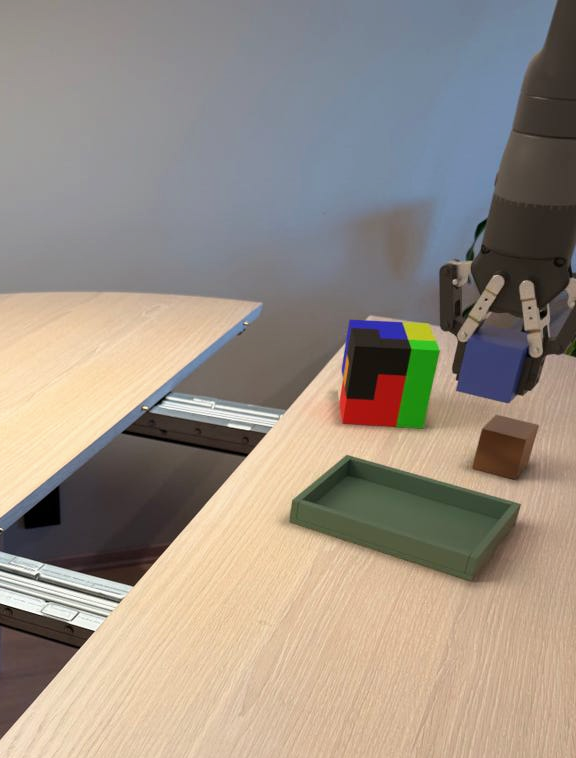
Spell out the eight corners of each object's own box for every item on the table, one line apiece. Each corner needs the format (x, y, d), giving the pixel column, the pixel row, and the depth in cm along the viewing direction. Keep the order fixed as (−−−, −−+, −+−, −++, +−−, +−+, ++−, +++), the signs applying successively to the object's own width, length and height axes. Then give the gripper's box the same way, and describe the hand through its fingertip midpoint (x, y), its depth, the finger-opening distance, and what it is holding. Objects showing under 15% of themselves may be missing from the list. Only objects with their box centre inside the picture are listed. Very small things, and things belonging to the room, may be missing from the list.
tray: (515, 525, 104) (521, 503, 102) (471, 581, 95) (477, 558, 93) (343, 475, 113) (346, 454, 111) (288, 521, 104) (291, 499, 102)
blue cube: (525, 387, 93) (540, 335, 90) (508, 404, 90) (523, 350, 87) (473, 375, 95) (486, 324, 92) (455, 391, 92) (467, 338, 89)
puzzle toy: (337, 393, 133) (349, 319, 127) (413, 397, 132) (428, 323, 126) (342, 423, 125) (355, 346, 119) (423, 428, 124) (439, 350, 118)
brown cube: (527, 464, 115) (539, 424, 113) (514, 480, 112) (526, 439, 109) (485, 453, 118) (495, 414, 115) (471, 468, 115) (481, 428, 112)
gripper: (643, 195, 81) (581, 391, 91) (472, 173, 88) (432, 358, 98) (621, 212, 76) (558, 417, 86) (442, 187, 83) (403, 380, 93)
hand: (491, 385), depth 92 cm, fingers closed on blue cube, 5 cm apart
